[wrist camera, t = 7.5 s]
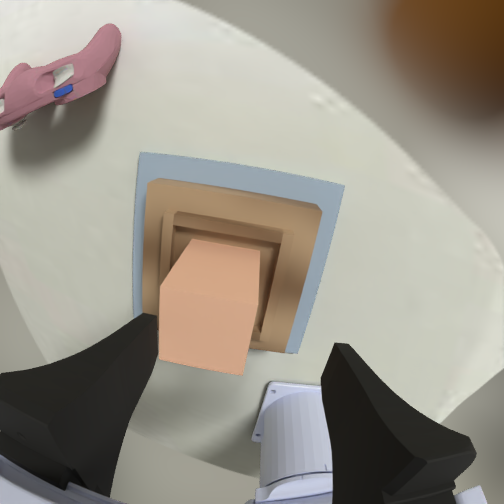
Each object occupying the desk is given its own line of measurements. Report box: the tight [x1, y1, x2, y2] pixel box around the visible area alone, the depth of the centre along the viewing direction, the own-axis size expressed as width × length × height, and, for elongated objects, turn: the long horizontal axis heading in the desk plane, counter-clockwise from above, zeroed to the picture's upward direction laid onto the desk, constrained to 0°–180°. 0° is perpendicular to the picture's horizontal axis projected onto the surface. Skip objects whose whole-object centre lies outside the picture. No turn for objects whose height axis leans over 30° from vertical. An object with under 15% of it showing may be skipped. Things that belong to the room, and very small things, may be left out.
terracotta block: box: [159, 239, 260, 376], centre depth 15 cm, size 4×4×6 cm
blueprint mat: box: [133, 152, 345, 354], centre depth 20 cm, size 13×13×1 cm
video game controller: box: [0, 24, 121, 130], centre depth 14 cm, size 10×5×7 cm, turn 94°
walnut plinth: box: [142, 178, 322, 353], centre depth 19 cm, size 10×10×3 cm
